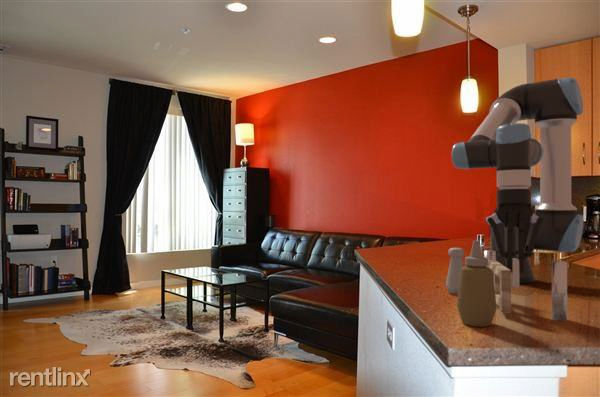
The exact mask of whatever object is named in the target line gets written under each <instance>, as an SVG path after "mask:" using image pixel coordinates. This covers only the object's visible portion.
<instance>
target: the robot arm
mask: <svg viewBox="0 0 600 397" xmlns="http://www.w3.org/2000/svg"><path fill="white" fill-rule="evenodd" d="M583 112H584V104H583V96H582V90H581V88H580V84H579V82H578V81H577V80H576V78H573V77H562V78H561V77H560V78H555V79H549V80H543V81H538V82H532V83H522V84H520V85H516V86H514V87H512V88H510V89H509V90H507V91H505V92H504V93H503V94H501V95H499V97H497V98H496V100H494V101H493V102H492V104H491V106H490V108H489V113H488V115H486V117H485V118H484V119H483V121H482V123H481V124H480V125H479V126H478V127H477V129H476V130H475V132H474V133H473V134H472V136H471V137H470V138H469V140H468V141H462V142H455V144H454V145H453V146H452V149H451V161H452V163H453V164H452V165H453V166H454V167H455V168H456V169H458V170H459V169H462V170H471V169H472V170H473V169H490V168H496V187H497V188H498V190H496V208H495V210H494V213H493V214H492V215H489V216H486V217H485V219H484V220H485V222H486V223H487V225H488V226H489V228H490V250H492V251H496V261H497V262H499V263H500V264H502V265H503V266H505V267H506V268H508V269H509V270H511V288H512V287H513V288H520V284H529V283H530V284H531V283H534V282H536V278H535V277H536V274H535V273H534V271H533V267H532V263H531V260H530V258H531V257H532V256H533V253H534V251H545V252H546V251H547V252H557V253H561V252H562V253H563V252H564V253H566V252H567V253H573V252H575V251H577V249H578V248H579V246H580V244H581V241H582V237H583V230H584V216H583V215H582V214H578V208H577V207H576V206H575V205H573V204H572V203H573V202H572V127H573V125H574V124H575V123H577V122H578V116H580V115H582V114H583ZM529 120H534V125H535V126H537V128H538V129H539V141H538V140H537V139H535V138H532V134H531V127H530V125H529V124H527V123H521V122H520V121H529ZM519 122H520V123H519ZM538 164H539V177H540V179H539V186H540V187H539V190H540V192H539V196H540V199H539V201H540V202H539V204H538V205H537V206H536V207H535V208H534V210H533V208H532V190H531V189H529V188H530V187H531V186H532V176H531V175H532V173H531V169H532V167H534V166H536V165H538ZM534 211H535V212H534Z"/></svg>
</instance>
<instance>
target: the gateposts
mask: <svg viewBox="0 0 600 397" xmlns="http://www.w3.org/2000/svg"><path fill="white" fill-rule="evenodd" d="M483 257H486V258H488V260H496V251H492V250H491V249H490V250H487V249H486V250H483ZM486 267H487V266H486ZM551 320H553V321H557V322H567V321H568V261H564V260H552V261H551Z"/></svg>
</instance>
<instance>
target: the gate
mask: <svg viewBox="0 0 600 397" xmlns="http://www.w3.org/2000/svg"><path fill="white" fill-rule="evenodd" d="M487 267H488V268H490V269H491V270H493V279H494V288H495V297H496V306H498V308H499V311H500V312H501V313H507V314H511V313H512V286H511V270H509V269H508V268H506V267H505V266H503V265H502V264H500V263H499V262H497V261H496V260H488V266H487Z"/></svg>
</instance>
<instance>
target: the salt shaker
mask: <svg viewBox="0 0 600 397" xmlns="http://www.w3.org/2000/svg"><path fill="white" fill-rule="evenodd" d="M448 256H449V257H450V259H449V266H448V272H447V276H446V280H445V287H446V289H447V292H448V294H451V295H455V296H458V289H459V280H460V270H461V268H463V267H464V261H463V260H464V259H463V257H464V256H465V250H464V249H463V248H462V247H461V248H460V247H451V248H449V249H448Z"/></svg>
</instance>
